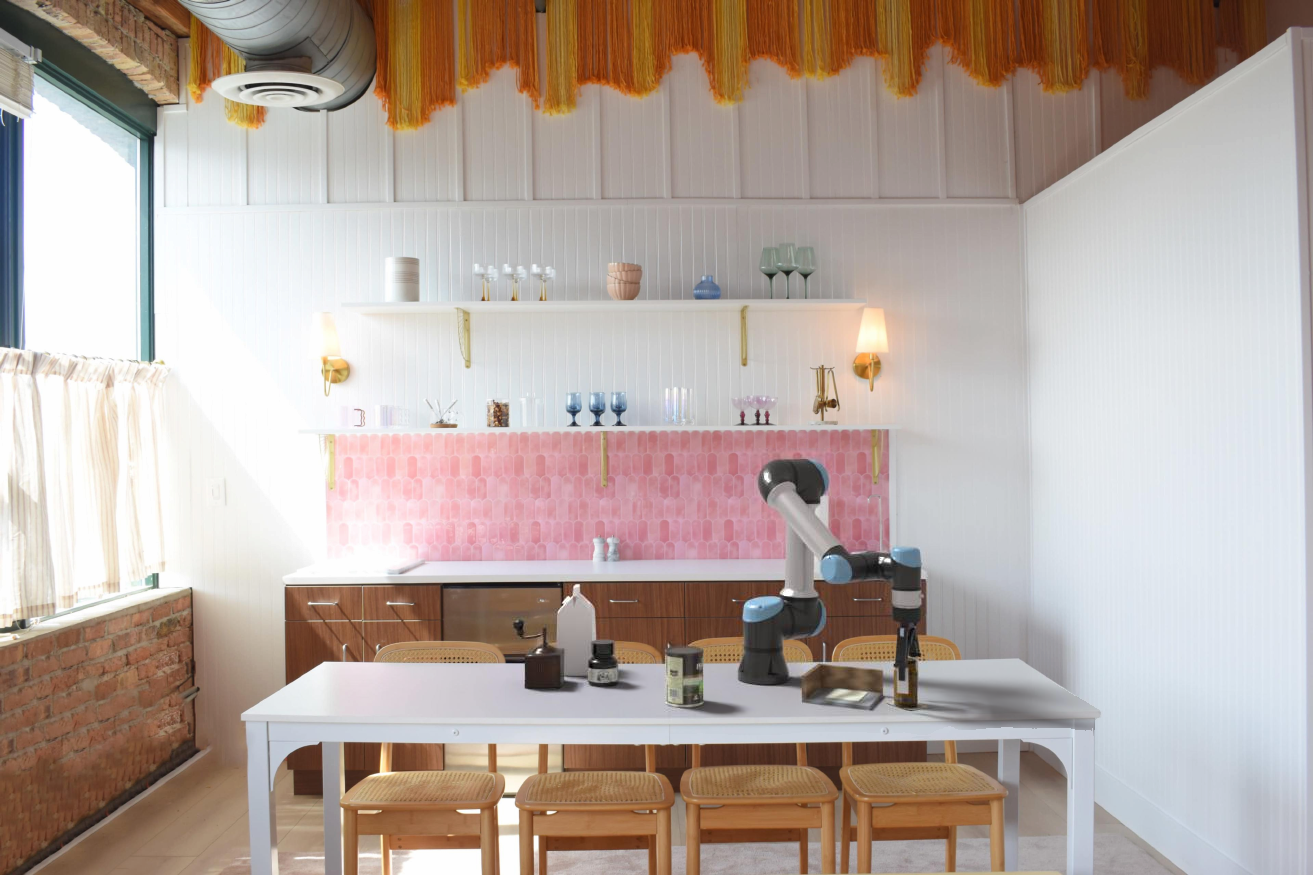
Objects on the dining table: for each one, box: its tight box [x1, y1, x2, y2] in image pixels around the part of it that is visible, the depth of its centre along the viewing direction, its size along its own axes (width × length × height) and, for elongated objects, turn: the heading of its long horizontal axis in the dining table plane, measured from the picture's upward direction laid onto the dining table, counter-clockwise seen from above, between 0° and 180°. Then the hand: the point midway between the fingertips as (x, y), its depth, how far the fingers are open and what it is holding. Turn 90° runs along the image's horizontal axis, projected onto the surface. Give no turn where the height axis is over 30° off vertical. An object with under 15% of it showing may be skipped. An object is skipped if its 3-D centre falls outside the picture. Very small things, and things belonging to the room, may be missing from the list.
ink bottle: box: [587, 639, 619, 687], centre depth 266 cm, size 10×9×12 cm
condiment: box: [887, 658, 930, 711], centre depth 242 cm, size 7×8×12 cm
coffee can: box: [664, 645, 705, 709], centre depth 245 cm, size 10×10×14 cm
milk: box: [555, 584, 597, 677], centre depth 282 cm, size 12×12×26 cm
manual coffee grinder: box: [512, 618, 566, 690], centre depth 266 cm, size 16×11×18 cm
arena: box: [801, 663, 884, 711], centre depth 248 cm, size 18×16×7 cm
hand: (908, 687), depth 241 cm, fingers open, 13 cm apart
